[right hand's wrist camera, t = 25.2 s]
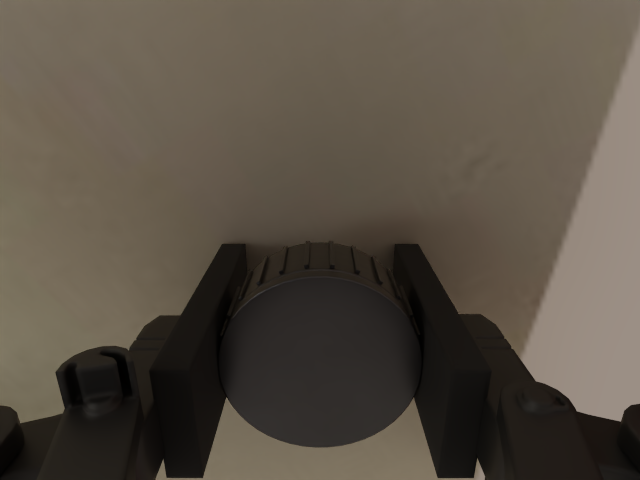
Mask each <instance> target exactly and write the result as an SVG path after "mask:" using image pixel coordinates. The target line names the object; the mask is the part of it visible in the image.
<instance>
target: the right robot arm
mask: <svg viewBox="0 0 640 480" xmlns="http://www.w3.org/2000/svg"><path fill="white" fill-rule="evenodd" d="M246 276H247V264H246V249H245V244H222V245H221V247H220V249H219V250H218V252H217V254H216V256H215V257H214V259H213V261H212V263H211V264H210V266H209V268H208V269H207V271H206V273H205V275H204V276H203V278H202V280H201V281H200V283H199V285H198V287H197V288H196V290H195V292H194V294H193V295H192V297H191V299H190V300H189V302H188V304H187V306H186V307H185V309H184V311H183V312H182V314H181V316H172V315H160V316H158V317H157V318H156V319H154V320H153V321H151V322H150V323H148V324H147V325H145V326H144V328H143V329H142V331H141V332H140V334H139V335H138V336H137V338H136V340H135V341H134V342H133V344H132V345H131V346H130V348H129V350H127V349H126V348H122V347H118V346H102V347H98V348H93V349H89V350H86V351H84V352H81V353H79V354H77V355H74V356H73V357H71V358H70V359H68V360H67V361H65V362H64V363H63V364H62V365H61V366H60V367H59V369H58V370H57V371H56V376H57V380H58V384H59V388H60V392H61V396H62V399H63V403H64V407H65V410H64V412H63V414H59V415H56V416H52V417H47V418H43V419H38V420H34V421H29V422H25V423H20V421H19V418H18V415H17V412H16V411H14V410H13V409H12V408H11V407H7V406H0V480H155V478H156V476H157V473H158V471H159V468H160V466H161V463H162V461H163V458H164V464H165V470H166V476H167V478H203V475H204V471H205V468H206V465H207V461H208V458H209V454H210V451H211V448H212V444H213V441H214V437H215V434H216V430H217V427H218V424H219V420H220V417H221V413H222V410H223V407H224V403H225V400H226V395H225V392H224V390H223V388H222V385H221V382H220V378H219V373H218V362H217V361H218V349H219V344H220V340H221V339H220V334H221V331H222V329H223V326H224V323H225V321H226V315H227V313H228V310H229V307H230V305H231V302H232V300H233V297H234V295H235V292H236V289H237V287H238V286H239V287H241V286H242V284H243V283H244V281H245V279H246ZM393 276H394V278H395V280H396V282H397V284H398V285H399V286H401V285H402V286H403V288H404V291H405V294H406V296H407V299H408V301H409V304H410V307H411V309H412V312H413V314H414V319H415V321H416V324H417V327H418V329H419V332H420V338H419V339H420V343H421V347H422V353H423V367H422V375H421V380H420V384H419V386H418V389H417V391H416V394H415V396H414V399H415V402H416V406H417V409H418V412H419V416H420V419H421V423H422V426H423V429H424V433H425V436H426V440H427V443H428V446H429V450H430V453H431V457H432V460H433V463H434V467H435V470H436V473H437V477H438V478H474V473H475V467H476V462H477V458H478V460H479V463H480V465H481V467H482V470H483V472H484V475H485V480H640V404H636V405H631V406H630V407H628V408H627V409H626V410H625V411H624V414H623V417H622V420H621V422H619V421H615V420H610V419H606V418H601V417H596V416H592V415H587V414H584V413H580V412H577V411H576V409H575V407H574V406H573V404H572V403H571V401H570V400H569V399H568V398H567V397H566V396H565V395H563V394H562V393H561V392H559V391H558V390H556V389H554V388H552V387H550V386H548V385H546V384H543V383H540V382H536V381H535V380H534V378H533V377H532V375H531V374H530V372H529V371H528V370H527V368H526V367H525V365H524V364H523V363H522V361H521V360H520V358H519V357H518V355H517V354H516V353H515V351H514V350H513V349H511V346H510V344H509V343H508V341H507V340H506V339H504V336H503V334H502V333H501V331H500V330H499V329H498V327H497V326H496V324H494V323H493V322H491V321H490V320H488V319H487V318H485V317H484V316H482V315H481V314H458V312H457V310H456V309H455V307H454V305H453V303H452V302H451V300H450V298H449V297H448V295H447V293H446V291H445V290H444V288H443V286H442V285H441V283H440V281H439V279H438V278H437V276H436V274H435V273H434V271H433V269H432V267H431V266H430V264H429V262H428V261H427V259H426V257H425V255H424V254H423V252H422V250H421V249H420V247H419V245H418V244H395V251H394V266H393Z"/></svg>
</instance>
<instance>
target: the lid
mask: <svg viewBox="0 0 640 480" xmlns="http://www.w3.org/2000/svg"><path fill="white" fill-rule="evenodd" d="M419 338H420V332H419V329H418V327H417V324H416V321H415V319H414V314H413V312H412V309H411V307H410V304H409V301H408V299H407V296H406V294H405V291H404V288H403V286H402V285H401V286H399V285H398V284H397V282H396V280H395V278H394V276H393V273H392V271H391V270H390V269H388V270H387V269H386V268H385V267H384V266H383V265H381V264H380V263H379V262H378V261H377V260H376V257H375V256H373V255H372V256H369V255H367V254H365V253H363V252H361V251H359V250H356V247H355V246H352V247H348V246H344V245H339V244H333V241H329V243H310V241H306V244H301V245H297V246H293V247H289V248H288V246H285V247H284V248H283V250H282V251H279V252H277V253H275V254H274V255H272V256H270V257H268V256H265V257H264V259H263V262H261V263H260V264H259V265H258V266H257V267H256V268H255V269H254V270H253V271H252V270H249V271H248V273H247V276H246V279H245V281H244V283H243V284H242V286H241V287H239V286H238V287H237V289H236V292H235V295H234V297H233V300H232V302H231V305H230V307H229V310H228V313H227V315H226V321H225V323H224V326H223V329H222V331H221V334H220V339H221V340H220V344H219V349H218V361H217V362H218V373H219V378H220V382H221V385H222V388H223V390H224V392H225V395H226V397H227V398H228V400H229V402H230V403H231V405H232V406H233V407H234V409H235V410H236V411H237V412H238V413H239V415H240V416H241V417H242V418H244V419H245V420H246V421H247V422H248V423H249V424H251V425H252V426H253V427H255V428H256V429H257V430H259V431H261V432H263V433H264V434H266V435H268V436H270V437H273V438H275V439H277V440H280V441H283V442H286V443H290V444H294V445H299V446H306V447H334V446H342V445H346V444H351V443H354V442H357V441H360V440H363V439H366V438H368V437H370V436H372V435H375V434H376V433H378V432H380V431H381V430H383V429H385V428H386V427H387V426H389V425H390V424H391V423H393V422H394V421H395V420H396V419H397V418H398V417H399V416H400V415H401V414H402V413H403V412H404V411H405V409H406V408H407V407H408V406H409V404H410V402H411V401H412V399H413V397H414V396H415V394H416V391H417V389H418V386H419V384H420V380H421V375H422V367H423V353H422V347H421V343H420V339H419Z"/></svg>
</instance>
